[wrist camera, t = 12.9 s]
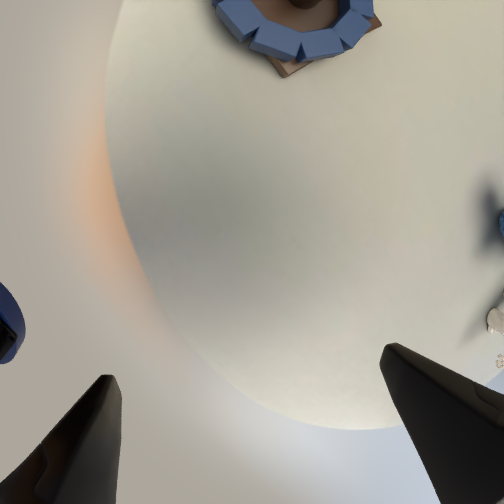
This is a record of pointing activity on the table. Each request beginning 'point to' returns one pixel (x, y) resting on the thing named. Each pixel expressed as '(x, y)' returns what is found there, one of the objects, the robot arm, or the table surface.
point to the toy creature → (496, 327)
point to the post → (301, 22)
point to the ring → (291, 41)
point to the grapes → (502, 223)
